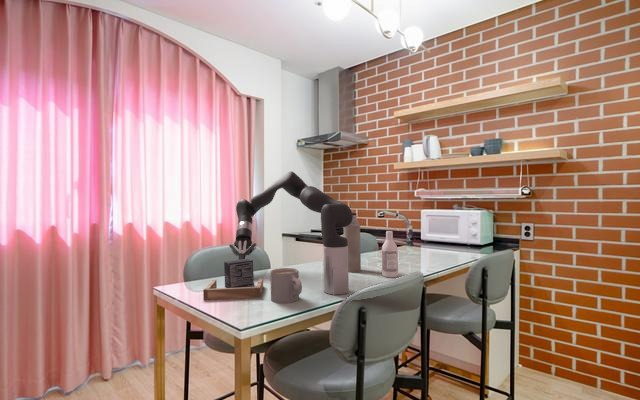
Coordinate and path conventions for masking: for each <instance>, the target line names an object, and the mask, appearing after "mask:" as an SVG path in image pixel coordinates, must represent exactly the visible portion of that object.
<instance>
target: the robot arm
mask: <svg viewBox="0 0 640 400" xmlns="http://www.w3.org/2000/svg"><path fill="white" fill-rule="evenodd" d="M280 189H283V190H284V191H285V192H287V194H289V195H290V196H292V197H294V198H295V199H297V200H299V201H300V202H301V204H302V205H304V207H306V208H307V209H309V211H312V212H314V213H318V214H320V226H321V238H322V244H323V245H322V246H323V248H322V249H323V284H324V285H323V287H324V289H323V292H325V293H326V294H329V295H333V296H335V295H344V294H349V292H350V291H349V290H350V287H349V286H350V285H349V283H350V282H349V280H350V279H349V272H348V240H347V238H345V237H344V236H341V235H339V234H338V233H337V230H336V229H339V228H340V229H341V228H343V227H346V226H348V225H350V224H351V222H352V219H353V215H352V213H353V212H352V210H351V208H350V207H349V205H348V204H346V203H343V202H342V201H339V200H336V199H334V198H332V196H329V195H328V194H327V193H325V192H323V191H322V190H320V189H319V188H317V187H315V186H313V185H312V186H311V185H310V186H309V185H307V183H306V182H305V181H304V180H303V179H302V178H301V177H300V176H299V175H297V174H296V173H295V172H294V171H288V172H286V173H284V174H283V175H281V176H280V177H279V178H277V180H275V181H274V182H272V184H271V185H269V186H268V187H267V188H265V189H264V190H263V191H261V192H259V193H258V194H256V195H254V196H253V197H251V199H250V201H249V200H247V199H245V198H242V199H239V200H238V202H236V207H235V212H236V216H237V227H236V230H235V232H236V233H235V240H234V242H233V244H229V245H228V247H229V249H230V251H231V252H232V253H233V254H234V255H235V256H237V257H238V260H241V259H246V258H247V257H246V256H250V255H251V254H252V253H253V252H254V251H255V250H256V249H257V244H256V243H255V242H253V241H252V239H253V217H254V216H255V215H256V214H257V213H258V212H259V211H260V209H262V208H264V207H266V206H268V205H269V204H271V202H272V201H273V199H274V198H275V195H276V194H277V192H278V190H280Z"/></svg>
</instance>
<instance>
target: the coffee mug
mask: <svg viewBox="0 0 640 400" xmlns="http://www.w3.org/2000/svg"><path fill="white" fill-rule="evenodd" d="M299 273H300V272H299V269H298V268H292V267H279V268H275V269H271V270H270V272H269V274H270V300H271V302H273V303H276V304H277V303H278V304H287V303H293V302H296V301H298V300H299V299H300V295H301V293H302V290H303V285H302V281H301V279H300V278H299V276H300V275H299Z"/></svg>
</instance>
